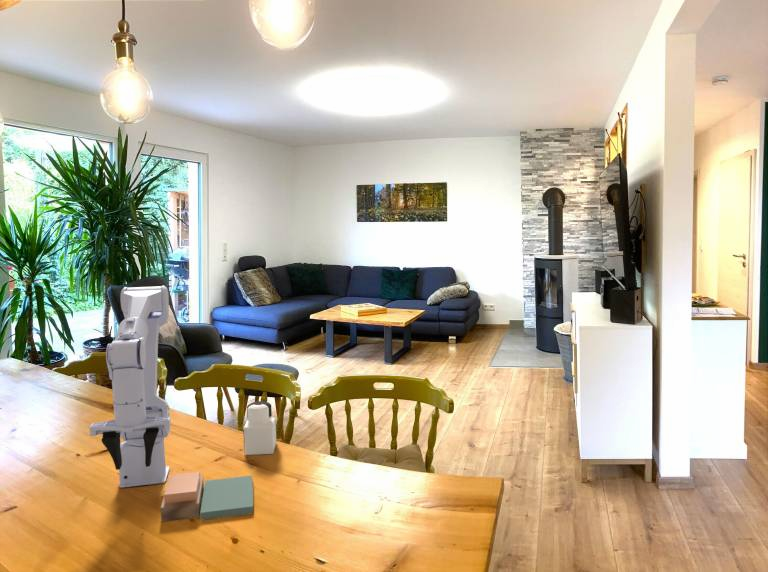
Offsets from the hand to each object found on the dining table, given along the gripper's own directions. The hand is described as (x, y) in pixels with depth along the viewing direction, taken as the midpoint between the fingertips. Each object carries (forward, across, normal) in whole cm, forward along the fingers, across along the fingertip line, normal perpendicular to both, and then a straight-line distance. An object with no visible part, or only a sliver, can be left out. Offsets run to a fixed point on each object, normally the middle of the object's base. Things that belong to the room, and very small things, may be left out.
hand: (133, 466), depth 113 cm
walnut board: (+9, +9, 0) cm, 13 cm away
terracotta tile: (+6, +9, 0) cm, 11 cm away
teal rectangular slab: (+9, +18, 0) cm, 20 cm away
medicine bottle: (+10, +25, +25) cm, 37 cm away
